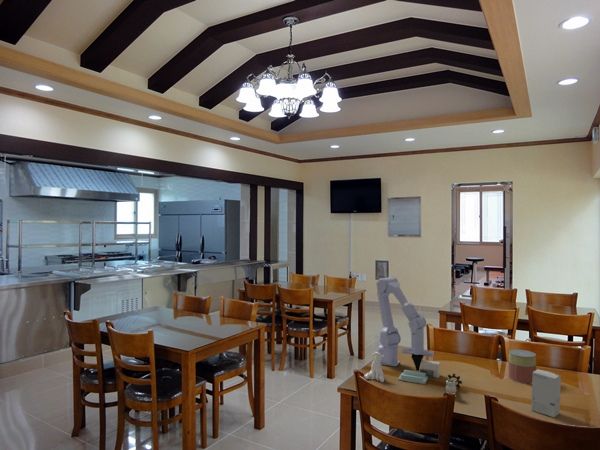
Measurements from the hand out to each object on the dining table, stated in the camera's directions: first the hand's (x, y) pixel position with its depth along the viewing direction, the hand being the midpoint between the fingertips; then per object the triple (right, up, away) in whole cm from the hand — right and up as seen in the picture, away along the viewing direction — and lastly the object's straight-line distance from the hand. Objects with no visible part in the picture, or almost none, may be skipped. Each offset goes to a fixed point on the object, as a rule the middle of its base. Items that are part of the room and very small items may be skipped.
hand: (417, 370), depth 198 cm
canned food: (+46, -1, -9) cm, 47 cm away
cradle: (-4, -1, -8) cm, 9 cm away
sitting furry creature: (-21, -2, -6) cm, 22 cm away
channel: (+4, -1, -2) cm, 5 cm away
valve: (+8, -2, -24) cm, 25 cm away
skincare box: (+37, -1, -42) cm, 56 cm away
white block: (+5, -1, -3) cm, 6 cm away
